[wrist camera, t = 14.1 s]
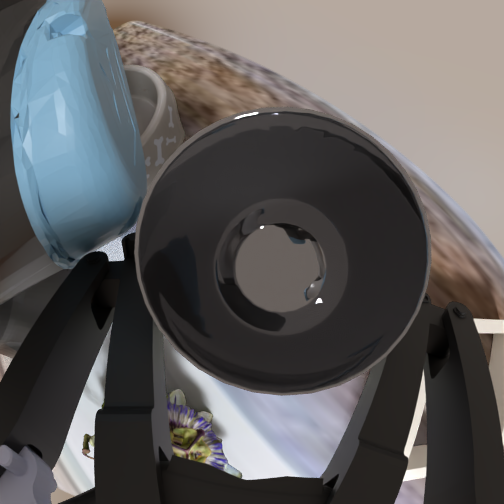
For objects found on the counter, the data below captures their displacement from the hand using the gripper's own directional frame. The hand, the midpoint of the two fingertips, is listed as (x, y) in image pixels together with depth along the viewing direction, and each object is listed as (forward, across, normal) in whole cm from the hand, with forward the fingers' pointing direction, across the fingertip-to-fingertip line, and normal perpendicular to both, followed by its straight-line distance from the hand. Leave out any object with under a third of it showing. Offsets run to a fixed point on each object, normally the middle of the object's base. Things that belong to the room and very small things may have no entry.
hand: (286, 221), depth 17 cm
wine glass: (+2, 0, -7) cm, 7 cm away
